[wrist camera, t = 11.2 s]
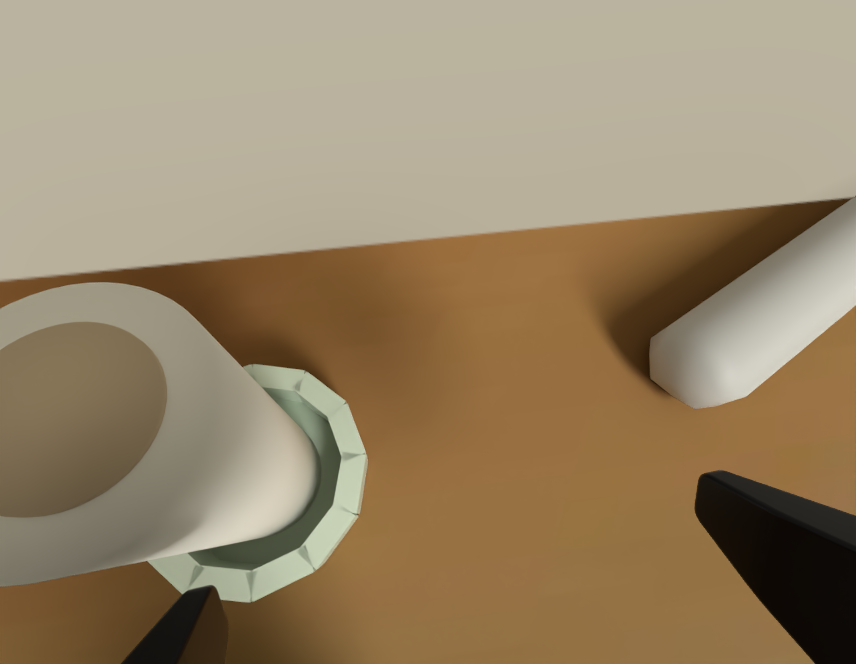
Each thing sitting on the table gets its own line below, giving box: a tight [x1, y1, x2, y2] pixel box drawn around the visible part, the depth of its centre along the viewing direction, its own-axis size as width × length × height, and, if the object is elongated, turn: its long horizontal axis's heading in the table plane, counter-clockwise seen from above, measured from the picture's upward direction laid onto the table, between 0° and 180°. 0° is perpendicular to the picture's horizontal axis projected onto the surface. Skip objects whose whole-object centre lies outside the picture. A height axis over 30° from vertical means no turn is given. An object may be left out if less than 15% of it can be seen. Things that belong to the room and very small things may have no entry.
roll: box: [0, 282, 322, 586], centre depth 13 cm, size 5×5×13 cm
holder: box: [148, 364, 368, 603], centre depth 18 cm, size 9×9×2 cm
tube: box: [649, 196, 856, 409], centre depth 25 cm, size 5×5×25 cm
